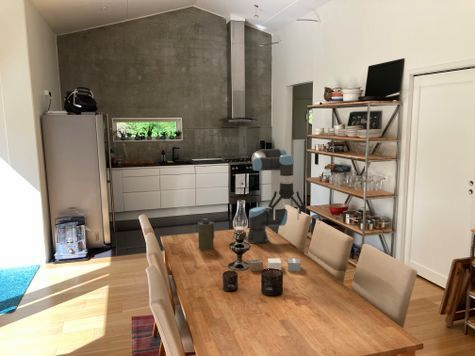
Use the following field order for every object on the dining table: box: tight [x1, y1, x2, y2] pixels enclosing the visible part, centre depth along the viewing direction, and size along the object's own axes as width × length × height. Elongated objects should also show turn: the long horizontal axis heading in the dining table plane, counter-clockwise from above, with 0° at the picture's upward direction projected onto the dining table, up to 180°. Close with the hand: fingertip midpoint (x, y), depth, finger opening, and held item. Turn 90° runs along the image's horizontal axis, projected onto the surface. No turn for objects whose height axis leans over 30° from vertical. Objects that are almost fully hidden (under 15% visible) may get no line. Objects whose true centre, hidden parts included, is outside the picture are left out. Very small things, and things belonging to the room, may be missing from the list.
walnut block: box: [247, 257, 264, 272], centre depth 219 cm, size 7×7×5 cm
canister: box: [197, 218, 215, 251], centre depth 255 cm, size 11×10×20 cm
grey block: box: [287, 257, 302, 273], centre depth 217 cm, size 7×7×5 cm
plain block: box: [267, 257, 282, 271], centre depth 218 cm, size 7×7×5 cm
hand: (286, 219), depth 218 cm, fingers open, 13 cm apart
